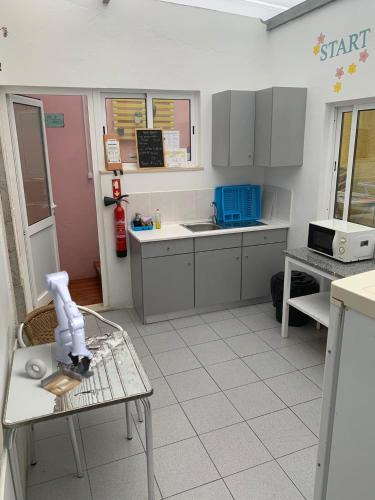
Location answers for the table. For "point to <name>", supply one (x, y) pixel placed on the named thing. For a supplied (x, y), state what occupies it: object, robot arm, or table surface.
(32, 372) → the donut
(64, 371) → the tray
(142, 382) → the table surface
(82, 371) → the bracket
